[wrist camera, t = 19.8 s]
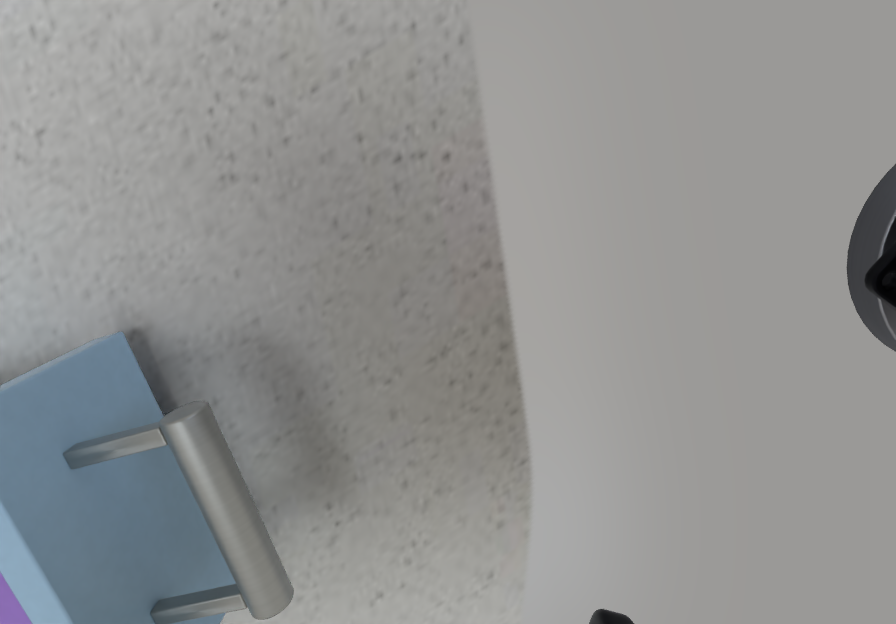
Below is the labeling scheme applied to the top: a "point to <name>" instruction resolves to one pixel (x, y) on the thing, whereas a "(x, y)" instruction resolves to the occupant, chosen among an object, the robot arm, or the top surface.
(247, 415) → the top surface
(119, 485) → the blue drawer
